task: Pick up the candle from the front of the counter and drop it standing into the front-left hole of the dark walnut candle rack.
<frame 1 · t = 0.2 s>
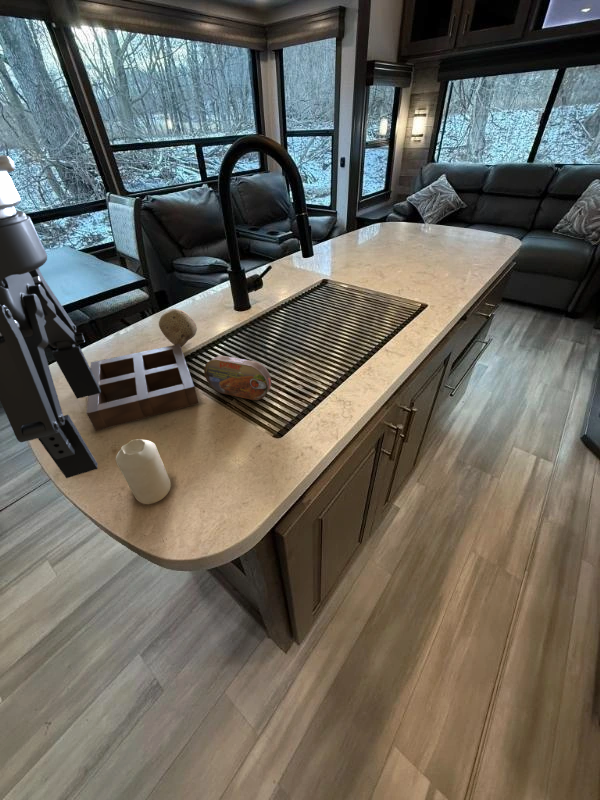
hand: (86, 427, 37), 19 cm above the worktop, tool pointing down, fingers open, 13 cm apart
natural sponge: (183, 345, 91), on the worktop
rack: (145, 390, 74), on the worktop
tin: (240, 393, 73), on the worktop
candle: (153, 490, 53), on the worktop
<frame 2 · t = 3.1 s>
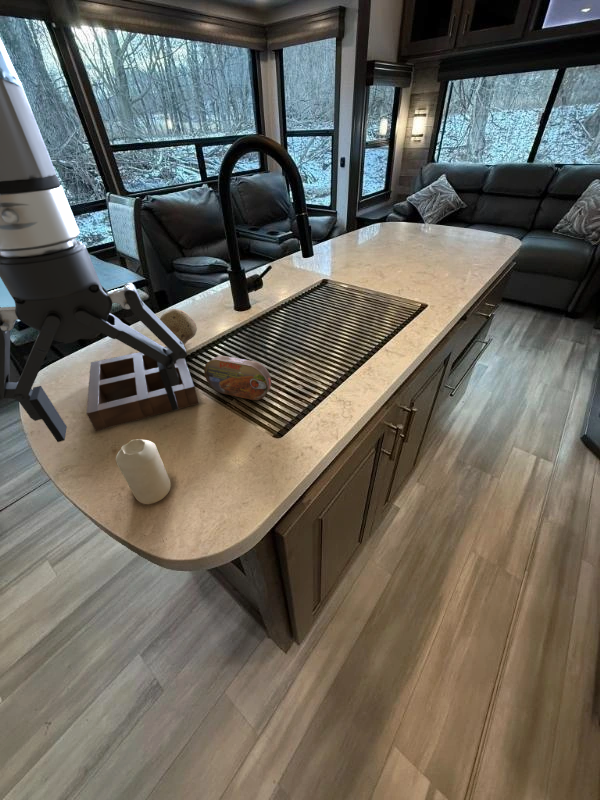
hand: (121, 418, 43), 15 cm above the worktop, tool pointing down, fingers open, 13 cm apart
nothing on the worktop moved.
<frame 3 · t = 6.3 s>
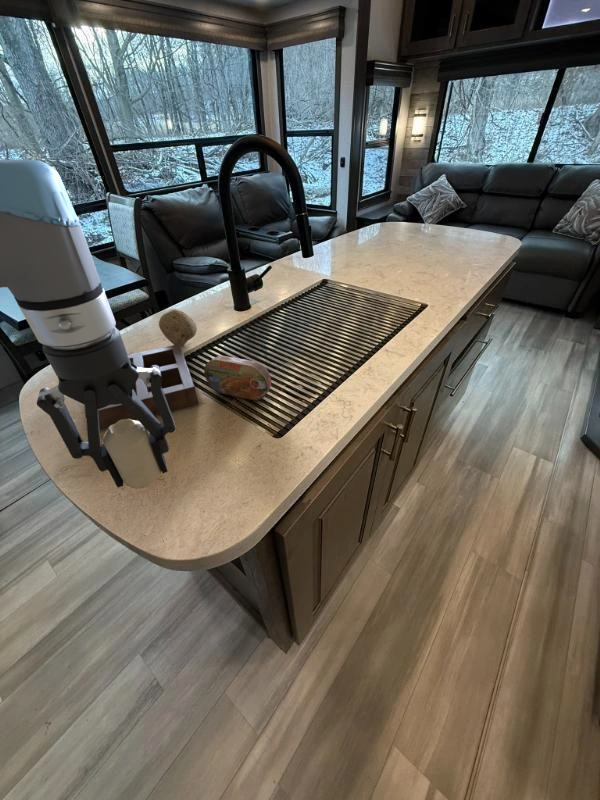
hand: (142, 473, 50), 4 cm above the worktop, tool pointing down, fingers closed on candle, 5 cm apart
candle: (143, 475, 51), point 4 cm above the worktop, touching gripper
everything else where it was.
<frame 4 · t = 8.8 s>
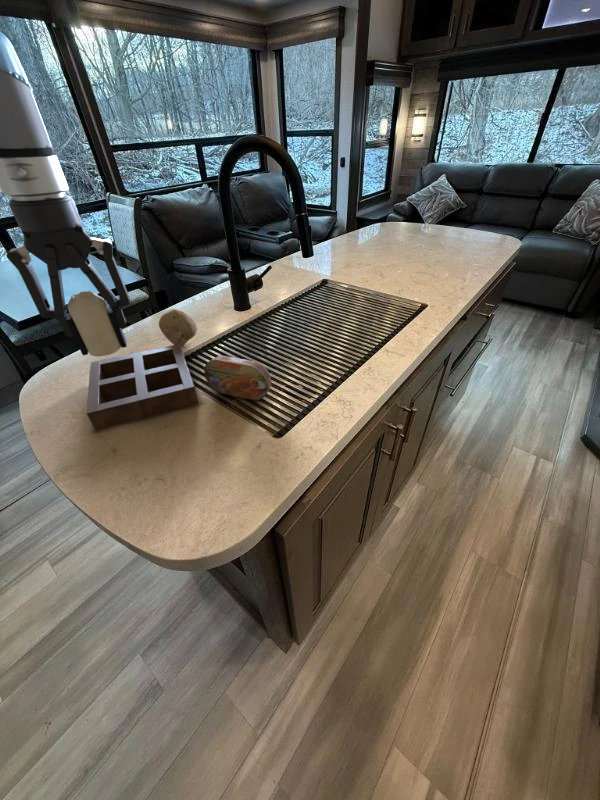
hand: (105, 347, 59), 15 cm above the worktop, tool pointing down, fingers closed on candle, 5 cm apart
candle: (106, 349, 59), point 15 cm above the worktop, touching gripper
everything else where it was.
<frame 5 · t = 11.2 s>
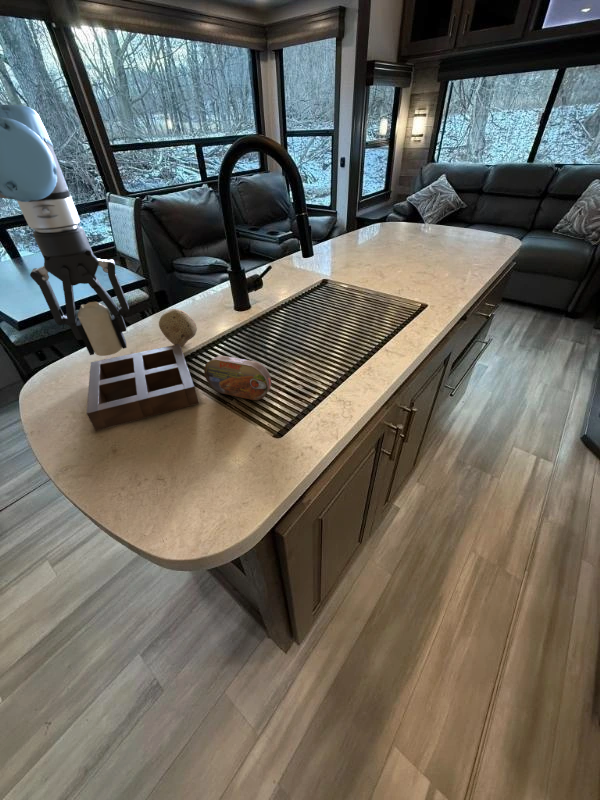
hand: (108, 348, 70), 10 cm above the worktop, tool pointing down, fingers closed on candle, 5 cm apart
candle: (109, 350, 70), point 9 cm above the worktop, touching gripper
everything else where it was.
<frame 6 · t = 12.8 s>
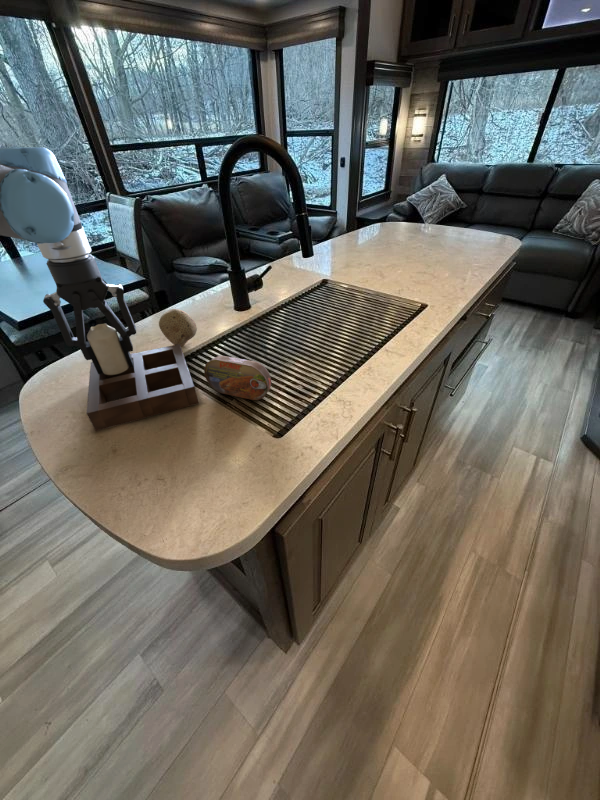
hand: (115, 367, 73), 5 cm above the worktop, tool pointing down, fingers closed on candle, 5 cm apart
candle: (116, 369, 73), point 4 cm above the worktop, touching gripper
everything else where it was.
when the fingers open (5 cm above the worktop, at t = 16.6 s): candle drops 5 cm, resting in rack.
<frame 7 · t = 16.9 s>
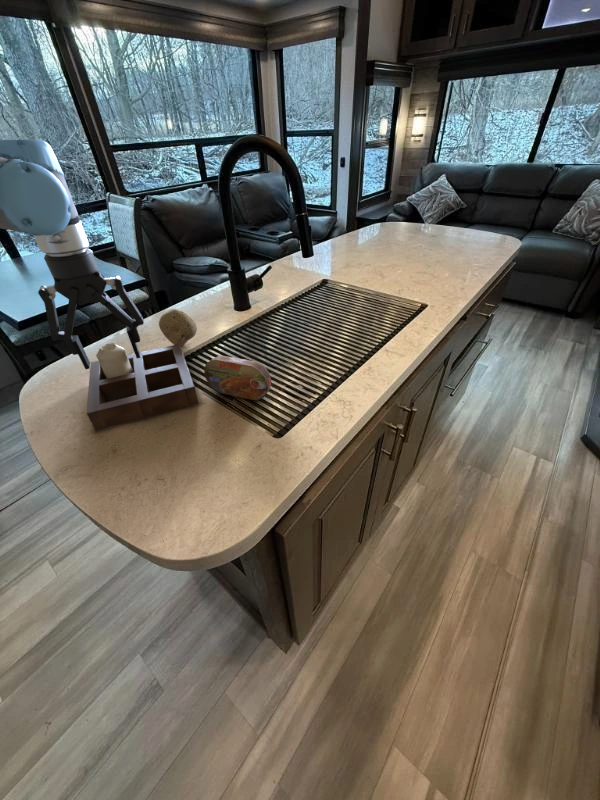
hand: (113, 360, 72), 7 cm above the worktop, tool pointing down, fingers open, 9 cm apart
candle: (124, 385, 76), resting in rack
everything else where it was.
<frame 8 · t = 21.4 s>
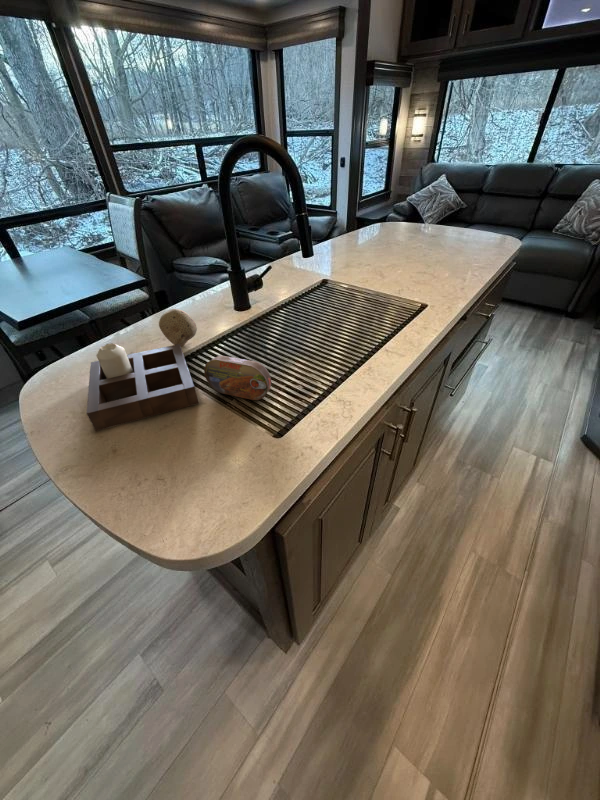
nothing on the worktop moved.
at the end: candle 0.1 cm from the target spot in the rack, point 0.0 cm above the rack's base; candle tilted 0°; the gripper is holding nothing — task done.
